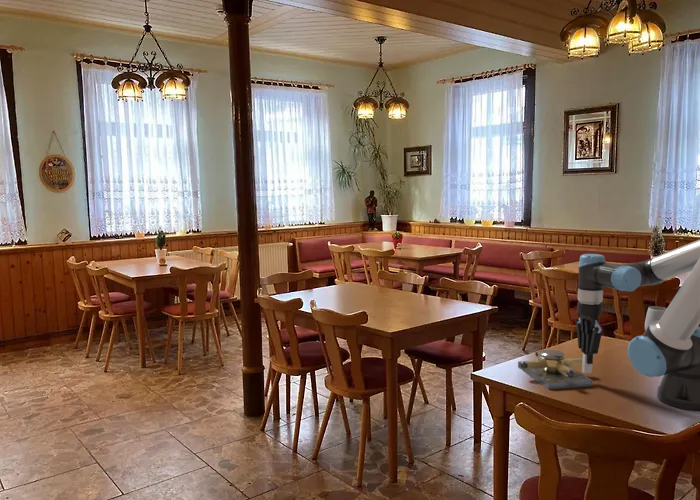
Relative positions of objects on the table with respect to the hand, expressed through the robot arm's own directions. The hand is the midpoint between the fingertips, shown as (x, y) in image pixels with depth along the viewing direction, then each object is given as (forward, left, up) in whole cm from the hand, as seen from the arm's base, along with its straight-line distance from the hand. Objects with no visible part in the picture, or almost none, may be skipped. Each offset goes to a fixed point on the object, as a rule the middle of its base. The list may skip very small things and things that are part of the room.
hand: (586, 372), depth 188 cm
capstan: (+7, +8, -1) cm, 11 cm away
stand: (+7, +8, -3) cm, 11 cm away
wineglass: (+10, -32, -4) cm, 34 cm away
